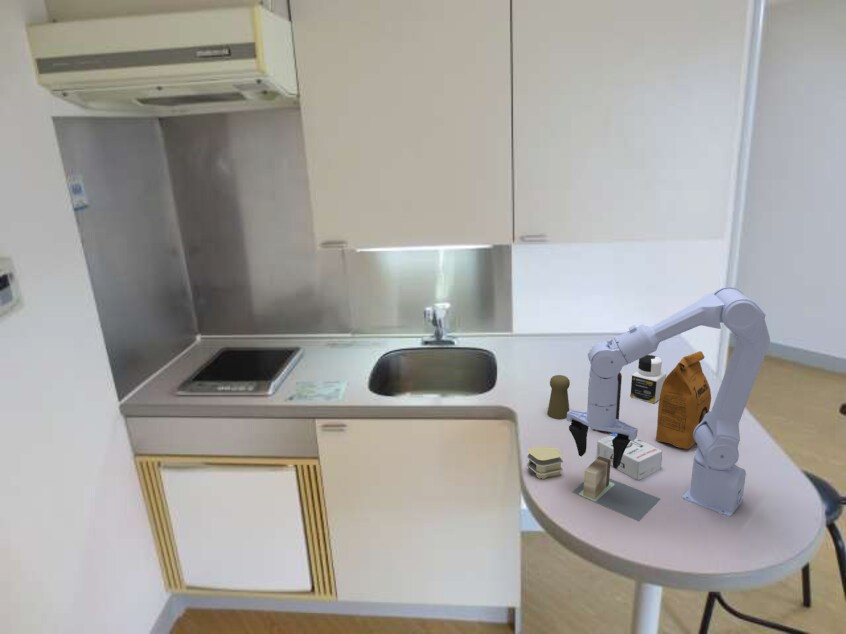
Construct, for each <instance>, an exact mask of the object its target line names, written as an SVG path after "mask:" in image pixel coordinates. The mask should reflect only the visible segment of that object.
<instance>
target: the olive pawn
mask: <svg viewBox="0 0 846 634" xmlns="http://www.w3.org/2000/svg"><path fill="white" fill-rule="evenodd" d="M570 385H571V382H570V379H569V377H567V376H565V375H562V374H555V375H554V376H551V378H550V381H549V386H550V387H551V391H550V396H549V400H548V402H549V403H548V407H547V413H546V414H547V416H548V417H550V418H551V419H555V420H567V412H569V411H570V410H571V409H570V401H569V393H568V389H569V388H570Z"/></svg>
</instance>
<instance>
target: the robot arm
mask: <svg viewBox="0 0 846 634" xmlns="http://www.w3.org/2000/svg"><path fill="white" fill-rule="evenodd" d="M722 323H723V325H724V326H725V327H726V328H727V329H728V330H729V331H730V332H731V333H732V335H733V336H734V338H735V339H736V342H735V344H734V348H733V350H732V352H731V355H730V358H729V361H728V364H727V366H726V369H725V371H724V375H723V376H722V377H723V378H722V380H721V384H720V386H719V389H718V390H717V394H716V397H715V399H714V402H713V405H712V408H711V410H709V412H708V413H706V414H705V416H704V418H703V420H702V422H701V423H700V424H699V425H697V426H696V428H695V429H694V432H693V437H694V440H695V442H696V443H695V444H697V448H696V450H695V451H694V452H693V453H694V455H693V462H692V463H693V464H692V470H691V471H692V472H691V480H690V487H689V488H688V489H687V491H685V493H683V495H682V496H681V498H682V500H685V501H687V502H691V503H692V504H696V505H698V506H701V507H703V508H706V509H708V510H710V511H713V512H716V513H719V514H721V515H724V516H727V517H732V516H733V514H734V513H735V511H736V510H737V509H738V507H739V506H740V505H741V503H742V502H743V501H744V489H745V483H746V474H747V473H746V469H744V468H742V467H741V466H738V465H737V463H738V460H739V457H740V453H739V444H740V441H741V437H740V435H741V434H740V421H741V420H742V419H741V418H742V416H743V414H744V411H745V408H746V406H747V403H748V401H749V398H750V395H751V392H752V390H753V388H754V385H755V382H756V380H757V378H758V377H757V376H758V375H759V372H760V369H761V367H762V364H763V363H764V360H765V359H764V358H765V357H766V354H767V351H768V348H769V346H770V343H771V338H770V334H769V330H768V327H767V322H766V314H765V312H764V310H762V309H761V307H760V306H759V305H758V304H757V303H756V302H755V301H753V300H752V299H750V298H748V297H747V296H746V295H745V294H744V293H743V292H742V291H741V290H740V289H738V288H736V287H732V286H724V287H721V288H719V289H717V290H715V291H714V292H709V293H707V294H704V296H701V298H699V299H698V300H697V301H695V302H693V303H691V304H689V305H688V306H686V307H685V308H683V309H681V310H679V311H677V312H675V313H674V314H672V315H670V316H668V317H666V318H665V319H663V320H661V321H659V322H657V323H655V324H654V325H652V326H649V325H644V324H640V325H638V326H637V327H636V325H632V326H630V327H628V330H629V331H627V332H624V333H621V334H620V335H617V336H616V337H614V338H612V337H609V338H607V339H606V341H605V342H603V341H601V342H600V341H599V342H597V343H595V344H594V345H593V346H591V349H590V350H589V351H588V353H587V358H588V360H589V363H590V368H589V369H590V370H589V375H588V376H589V378H588V385H587V386H588V388H587V390H588V391H587V407H586V408H587V409H586V411H582V410H581V411H580V410H574V409H569V410H570V411H569V412H567V418H566V422H569V423H570V425H568V430H569V432H570V434H571V435H572V438H573V439H574V442H575V445H576V449H577V453H578V457H583V456H584V455H585V454H586V453H587V444H588V442H587V441H588V432H589V428H590V429H593V430H594V429H595V430H601V431H608V432H611V433H610V434H614V433H615V434H617V436H616V437H615V438H614V439H613V440H612V443H613V451H614V456H613V467H612V468H614V469H616V468H617V467H618V466H619V465H620V463H621V459H622V456H623V453H624V451H625V449H626V447H627V446H628V444H629V442H630V441H631V440H632V441H634V440H635V439H636V438H638V430H639V429H638V428H637V427H635V426H632V425H629V424H627V423H626V422H624V421H621V420H620V419H619V420H618V419H616V410H617V394H618V380H617V379H618V374H619V373H621V371H622V369H623V367H625V366H627V365H629V364H632V363H634V362H635V361H639V359H640V358H642V357H644V356H646V355H652V353H654V352H656V351H657V349H658V347H659V345H660V343H662V342H663V341H664V342H665V341H666V340H668V339H671V338H673V337H675V336H679V335H680V334H682V333H684V332H685V333H686V332H687V331H690V330H692V329H694V328H695V329H696V328H697V327H699V326H702V327H708V328H713V329H718V330H719V329H722V328H721V327H722V326H721V324H722ZM595 430H594V431H595Z"/></svg>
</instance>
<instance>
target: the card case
mask: <svg viewBox="0 0 846 634" xmlns="http://www.w3.org/2000/svg"><path fill="white" fill-rule="evenodd" d="M610 463H611V460H610V459H607V458H604V457H601V456H599V457H598V458H595V460H593V461H592V463H590V464H589V466H587V468H585V469H584V473H583V482H584V492H583V495H584V496H587V497H589V498H592V499H595V498H596V497H597V496H598V495H599V494H600V493H601V492H602V491H603V490H604V489H605V488H606V487H607V486H608V485H609V478H610V479H611V477H610V476H611V475H610V473H611V466H610Z"/></svg>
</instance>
